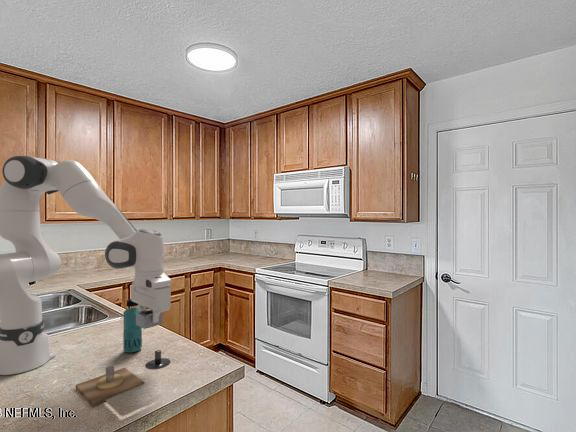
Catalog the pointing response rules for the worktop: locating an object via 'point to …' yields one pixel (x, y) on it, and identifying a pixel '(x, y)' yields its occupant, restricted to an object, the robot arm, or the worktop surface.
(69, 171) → the robot arm
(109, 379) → the brown square board
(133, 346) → the beverage bottle
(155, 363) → the stand
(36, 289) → the worktop surface
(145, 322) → the square metal tube
